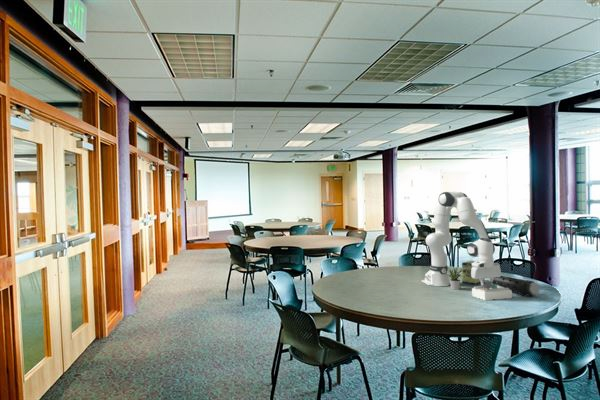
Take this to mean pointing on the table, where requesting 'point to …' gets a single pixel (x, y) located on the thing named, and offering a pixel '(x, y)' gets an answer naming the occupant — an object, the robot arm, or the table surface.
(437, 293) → the table surface
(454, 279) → the house plant
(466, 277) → the protein box
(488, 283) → the plug
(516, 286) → the muzzle brake
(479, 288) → the socket box
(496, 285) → the shutter
